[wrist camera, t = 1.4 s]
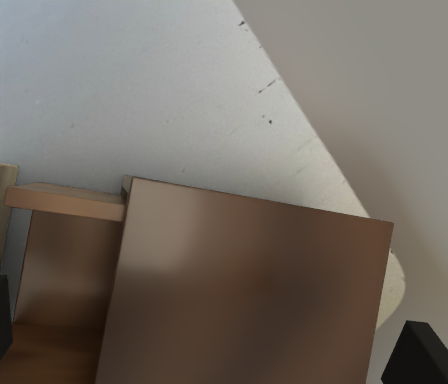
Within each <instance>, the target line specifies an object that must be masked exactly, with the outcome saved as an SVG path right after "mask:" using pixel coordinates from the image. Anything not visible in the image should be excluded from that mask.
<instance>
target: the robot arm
mask: <svg viewBox="0 0 448 384" xmlns="http://www.w3.org/2000/svg"><path fill="white" fill-rule="evenodd" d="M12 343H13V336H12V324H11V313H10V301H9V289H8V278H7V275H2V274H0V361H1V359H2V358H3V356H4V355H5V353H6V352H7V350H8V349H9V347H10V346H11V344H12ZM381 380H382V382H383V384H448V349H447V348H446V347H445V345H444V344H443V343H442V342H441V340H440V339H439V337H438V336H437V335H436V333H435V332H434V331H433V329H432V328H431V327H430V325H429V324H428V323H425V322H416V321H406V323H405V325H404V327H403V330H402V332H401V334H400V336H399V338H398V341H397V343H396V346H395V348H394V350H393V352H392V354H391V356H390V359H389V361H388V363H387V365H386V368H385V370H384V372H383V374H382V377H381Z"/></svg>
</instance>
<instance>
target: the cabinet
mask: <svg viewBox="0 0 448 384" xmlns="http://www.w3.org/2000/svg"><path fill="white" fill-rule="evenodd" d="M120 195H124V196H127V202H126V207H125V213H124V219H123V224H122V230H121V235H120V241H119V247H118V252H117V258H116V263H115V269H114V274H113V280H112V286H111V291H110V297H109V302H108V308H107V314H106V319H105V325H104V330H103V336H102V342H101V347H100V353H99V358H98V364H97V370H96V375H95V381H94V384H366V378H367V373H368V367H369V361H370V356H371V350H372V345H373V339H374V333H375V328H376V322H377V316H378V311H379V305H380V299H381V294H382V288H383V283H384V277H385V271H386V266H387V260H388V254H389V249H390V243H391V237H392V232H393V226H394V223H392V222H387V221H381V220H376V219H370V218H364V217H359V216H353V215H348V214H342V213H336V212H331V211H325V210H319V209H314V208H308V207H303V206H297V205H291V204H286V203H280V202H275V201H269V200H263V199H258V198H252V197H247V196H241V195H235V194H230V193H224V192H219V191H213V190H207V189H202V188H196V187H191V186H185V185H179V184H174V183H168V182H163V181H157V180H151V179H146V178H140V177H135V176H129V175H124V177H123V183H122V189H121V194H120Z"/></svg>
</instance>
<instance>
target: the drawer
mask: <svg viewBox="0 0 448 384" xmlns="http://www.w3.org/2000/svg"><path fill="white" fill-rule="evenodd" d="M17 173H18V166H14V165H8V164H3V163H0V268H1V262H2V257H3V251H4V245H5V240H6V234H7V229H8V223H9V218H10V212H11V207H15V208H22V209H29V210H33V211H32V216H31V222H30V228H29V233H28V239H27V244H26V250H25V256H24V261H23V267H22V272H21V278H20V283H19V289H18V295H17V300H16V306H15V311H14V317H13V323H12V336H13V343H12V344H11V346H10V347H9V349H8V350H7V352H6V353H5V355H4V356H3V358H2V359H1V361H0V384H94V381H95V375H96V370H97V364H98V358H99V353H100V347H101V342H102V336H103V330H104V325H105V319H106V314H107V308H108V302H109V297H110V291H111V286H112V280H113V274H114V269H115V263H116V258H117V252H118V247H119V241H120V235H121V230H122V224H123V219H124V213H125V207H126V202H127V196H124V195H117V194H111V193H105V192H99V191H93V190H86V189H80V188H74V187H68V186H62V185H55V184H49V183H43V182H39V183H31V184H24V185H17V186H15V184H16V179H17Z"/></svg>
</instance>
